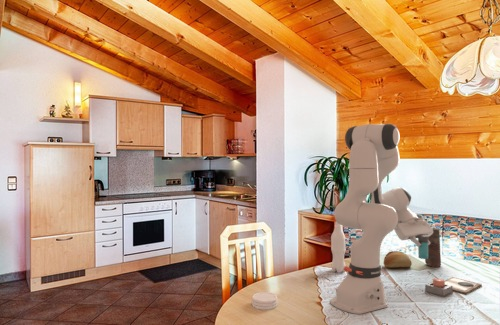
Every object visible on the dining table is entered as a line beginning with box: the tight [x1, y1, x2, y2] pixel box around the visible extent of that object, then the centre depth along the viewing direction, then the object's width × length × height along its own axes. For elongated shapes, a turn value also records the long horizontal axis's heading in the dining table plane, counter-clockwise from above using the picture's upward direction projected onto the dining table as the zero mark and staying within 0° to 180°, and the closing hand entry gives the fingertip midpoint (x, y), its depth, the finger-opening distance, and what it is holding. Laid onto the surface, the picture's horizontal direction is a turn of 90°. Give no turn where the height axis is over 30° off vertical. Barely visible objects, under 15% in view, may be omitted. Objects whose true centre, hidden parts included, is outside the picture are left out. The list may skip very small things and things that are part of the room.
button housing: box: [424, 280, 454, 298], centre depth 146 cm, size 8×8×3 cm
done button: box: [432, 278, 445, 288], centre depth 146 cm, size 4×4×3 cm
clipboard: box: [444, 276, 483, 295], centre depth 153 cm, size 16×12×1 cm
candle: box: [424, 227, 442, 268], centre depth 183 cm, size 8×7×20 cm
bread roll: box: [383, 250, 413, 269], centre depth 181 cm, size 10×15×8 cm, turn 101°
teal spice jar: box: [417, 235, 428, 260], centre depth 158 cm, size 4×4×10 cm
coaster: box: [251, 291, 278, 311], centre depth 135 cm, size 10×10×4 cm
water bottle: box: [330, 221, 347, 274], centre depth 175 cm, size 7×7×25 cm
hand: (424, 245), depth 158 cm, fingers closed on teal spice jar, 4 cm apart
